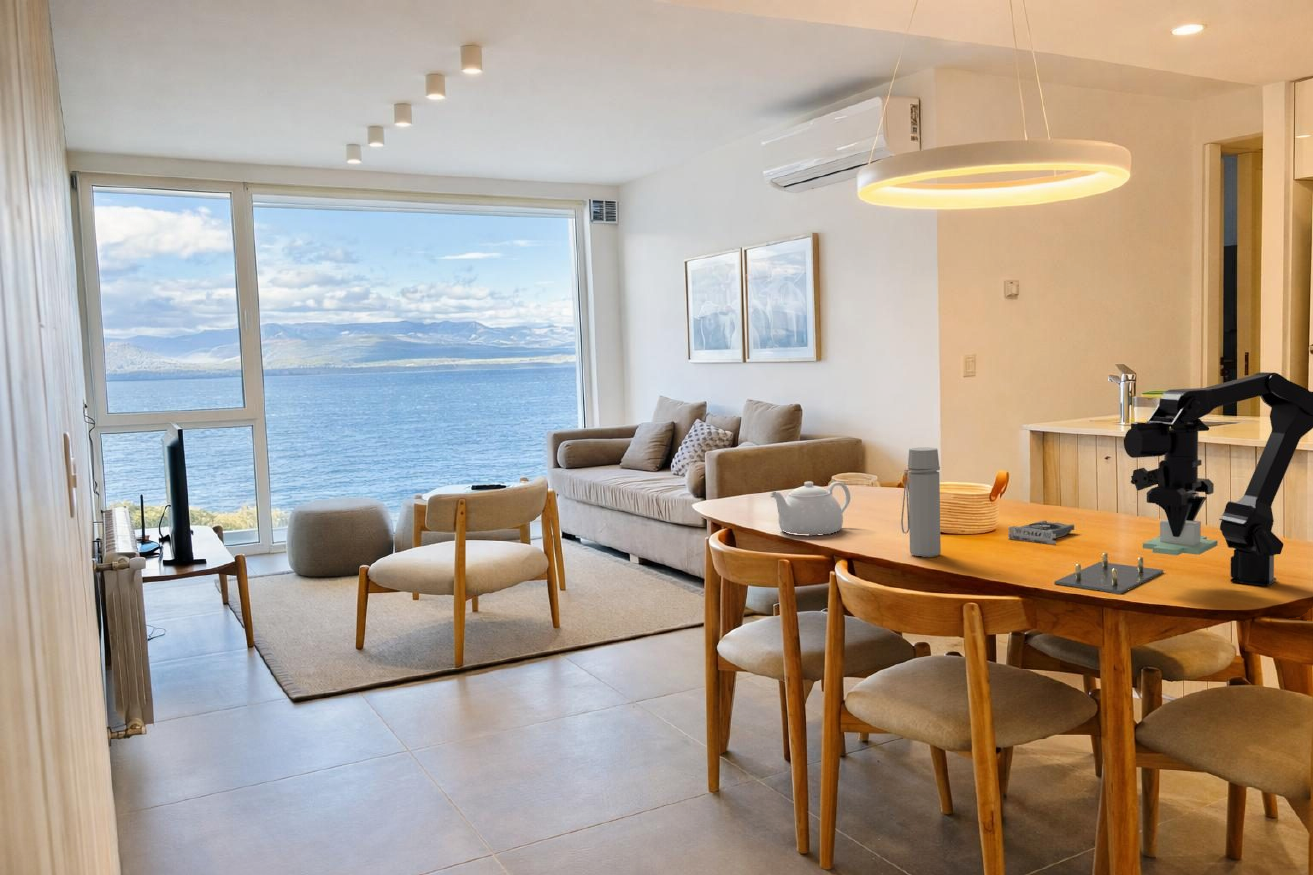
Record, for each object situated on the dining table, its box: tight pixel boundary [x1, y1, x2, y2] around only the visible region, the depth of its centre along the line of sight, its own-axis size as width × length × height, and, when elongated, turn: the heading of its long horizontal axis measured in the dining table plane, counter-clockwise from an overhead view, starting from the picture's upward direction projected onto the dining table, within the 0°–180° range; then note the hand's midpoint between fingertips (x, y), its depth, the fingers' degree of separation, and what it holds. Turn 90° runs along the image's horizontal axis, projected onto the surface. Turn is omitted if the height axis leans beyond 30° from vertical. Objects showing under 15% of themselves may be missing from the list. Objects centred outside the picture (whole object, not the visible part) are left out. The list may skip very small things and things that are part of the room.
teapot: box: [769, 481, 851, 535], centre depth 264 cm, size 19×18×14 cm
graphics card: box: [1007, 520, 1075, 545], centre depth 244 cm, size 17×4×12 cm
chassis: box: [1054, 552, 1164, 595], centre depth 200 cm, size 13×22×4 cm, turn 133°
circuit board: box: [1142, 518, 1218, 556], centre depth 190 cm, size 10×16×5 cm, turn 133°
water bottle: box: [900, 447, 942, 558], centre depth 229 cm, size 9×8×25 cm
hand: (1180, 534), depth 190 cm, fingers closed on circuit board, 4 cm apart
